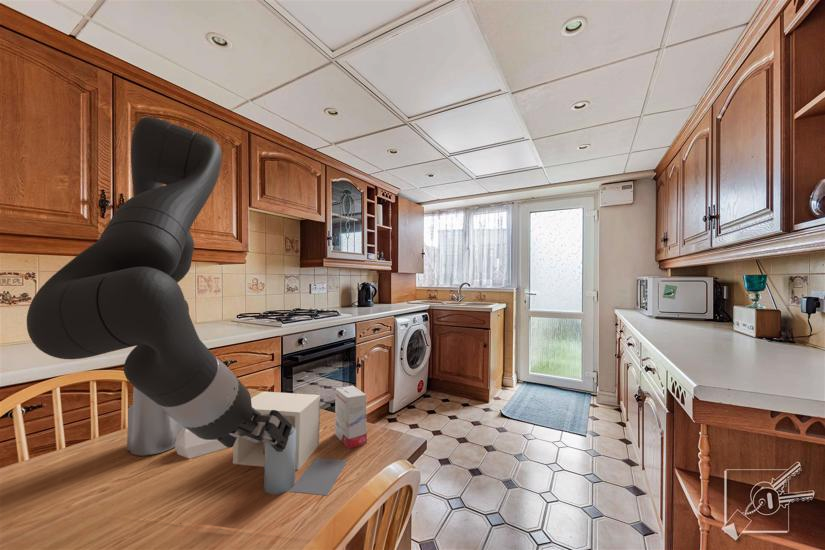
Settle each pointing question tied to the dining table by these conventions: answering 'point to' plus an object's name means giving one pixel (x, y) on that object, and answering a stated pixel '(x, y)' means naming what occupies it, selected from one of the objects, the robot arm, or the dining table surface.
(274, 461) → the jar
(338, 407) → the ink box
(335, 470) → the mat
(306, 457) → the cubby
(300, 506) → the dining table surface
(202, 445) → the white beveled prism
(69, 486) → the dining table surface
